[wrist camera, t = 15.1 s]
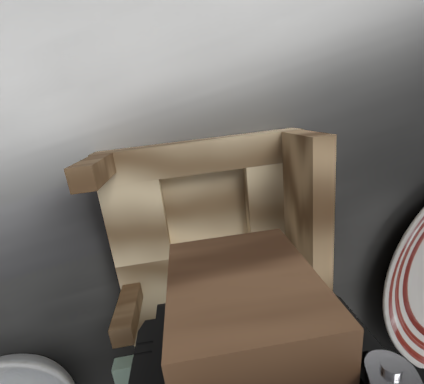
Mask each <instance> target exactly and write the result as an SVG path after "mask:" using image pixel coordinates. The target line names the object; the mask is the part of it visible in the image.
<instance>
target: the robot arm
mask: <svg viewBox="0 0 424 384" xmlns="http://www.w3.org/2000/svg"><path fill="white" fill-rule="evenodd" d="M336 296H337V295H336ZM337 298H338V299H339V300H340V301H341V302H342V304H343V305H344V306H345V307H346V308H347V310H348V311H349V312H350V313H351V314H352V316H353V317H354V318H355V319H356V320H357V321H358V323H359V324H360V325H361V326H362V327H363V329H364V334H363V346H362V358H361V370H360V382H359V384H424V368H417V367H414V366H413V365H412V364H411V363H410V362H409V361H407V360H406V359H405V358H403V357H402V356H400V355H398V354H396V353H394V352H391V351H387V350H385V349H384V348H383V347H382V346H381V345H380V343H379V342H378V341H377V340H376V339H375V338H374V336H373V335H372V334H371V333H370V332H369V331H368V329H367V328H366V327H365V326H364V325H363V323H362V322H361V321H360V320H359V319H358V318H356V315H355V314H354V313H353V312H352V311H351V309H349V307H348V306H347V305H346V304H345V302H344V301H343V300H342V299H341V298H340V297H338V296H337ZM165 304H166V303H164V304H158V305H157V311H156V319H150V320H145V321H144V323H143V324H142V326H141V327H140V329H139V330H138V333H137V338H136V346H135V349H134V356H133V360H132V365H131V371H130V376H129V381H128V384H165V382H164V377H163V372H162V367H161V360H162V346H163V332H164V318H165Z"/></svg>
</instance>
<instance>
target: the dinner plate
mask: <svg viewBox="0 0 424 384" xmlns="http://www.w3.org/2000/svg"><path fill="white" fill-rule="evenodd" d="M383 317H384V321H385V326H386V329H387V332H388V335H389V337H390V339H391V341H392V342H393V344H394V346H395V347H396V349H397V350H398V351H399V353H401V355H402V356H403V357H404V358H406V359H407V360H408V361H409V362H410V363H412V364H413V365H415V366H416V367H418V368H424V207H423V208H422V210H421V211H420V212H419V213H418V214H417V216H416V217H415V218H414V220H413V221H412V223H411V224H410V226H409V227H408V229H407V230H406V231H405V233H404V235H403V236H402V238H401V240H400V242H399V244H398V246H397V248H396V250H395V252H394V255H393V257H392V259H391V262H390V265H389V268H388V271H387V275H386V279H385V283H384V291H383Z"/></svg>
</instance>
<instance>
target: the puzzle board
mask: <svg viewBox="0 0 424 384" xmlns="http://www.w3.org/2000/svg"><path fill="white" fill-rule="evenodd" d="M336 138H337V135H336V134H329V133H322V132H315V131H308V130H303V129H299V128H286V129H278V130H270V131H262V132H253V133H245V134H237V135H229V136H221V137H213V138H204V139H196V140H188V141H180V142H172V143H164V144H155V145H147V146H139V147H131V148H123V149H115V150H106V151H98V152H94V153H92V154H90V155H88V157H87V158H85V159H83V160H81V161H79V162H77V163H75V164H73V165H71V166H69V167H67V168H65V169H64V172H65V175H66V179H67V183H68V186H69V190H70V194H71V195H72V194H79V193H87V192H94V191H97V194H98V198H99V202H100V207H101V211H102V215H103V219H104V223H105V227H106V231H107V235H108V240H109V244H110V248H111V252H112V256H113V260H114V264H115V269H116V273H117V277H118V281H119V285H120V289H121V292H120V295H119V298H118V301H117V304H116V307H115V311H114V314H113V317H112V320H111V323H110V326H109V330H108V334H109V337H110V341H111V345H112V348H113V349H115V348H120V347H126V346H131V345H134V347H135V346H136V338H137V333H138V330H139V329H140V327H141V326H142V324H143V323H144V321H145V320H150V319H156V311H157V305H158V304H164V303H166V290H167V276H168V262H169V248H170V244H175V243H182V242H189V241H196V240H203V239H210V238H217V237H223V236H230V235H237V234H244V233H251V232H258V231H265V230H272V229H279V228H280V230H281V231H282V232H283V233H284V234H285V235H286V237H287V238H288V239H289V240H290V241H291V243H292V244H293V245H294V246H295V247H296V249H297V250H298V251H299V252H300V253H301V255H302V256H303V257H304V258H305V259H306V261H307V262H308V263H309V264H310V265H311V267H312V268H313V269H314V270H315V271H316V273H317V274H318V275H319V276H320V277H321V278H322V280H323V281H324V282H325V283H326V284H327V286H328V287H329V288H330V289H331V290H332V292H333V262H334V221H335V179H336Z"/></svg>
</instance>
